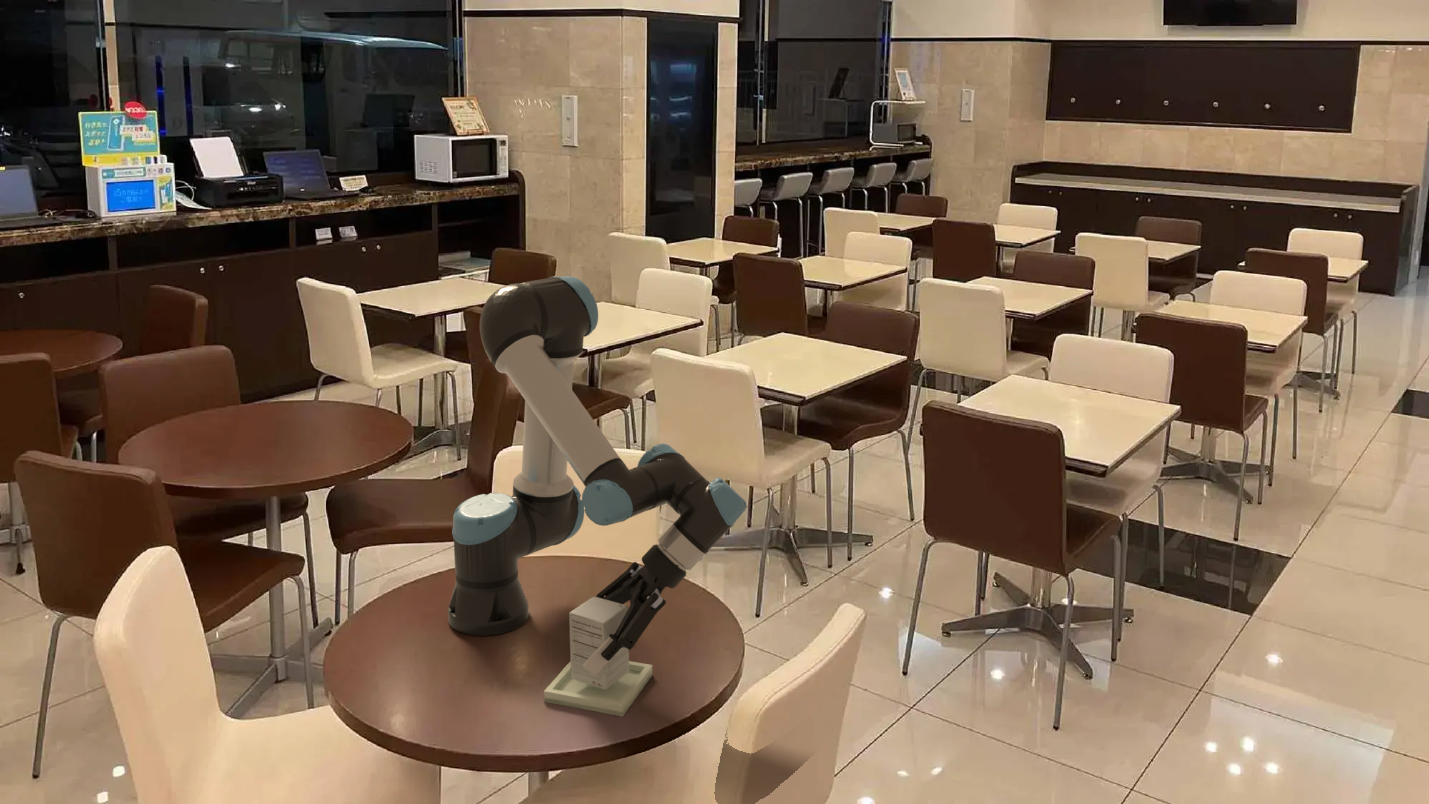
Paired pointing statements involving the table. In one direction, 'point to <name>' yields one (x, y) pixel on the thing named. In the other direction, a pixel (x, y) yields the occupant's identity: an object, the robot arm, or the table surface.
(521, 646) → the table surface
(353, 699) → the table surface
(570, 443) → the robot arm
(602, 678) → the supplement box
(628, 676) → the tray
